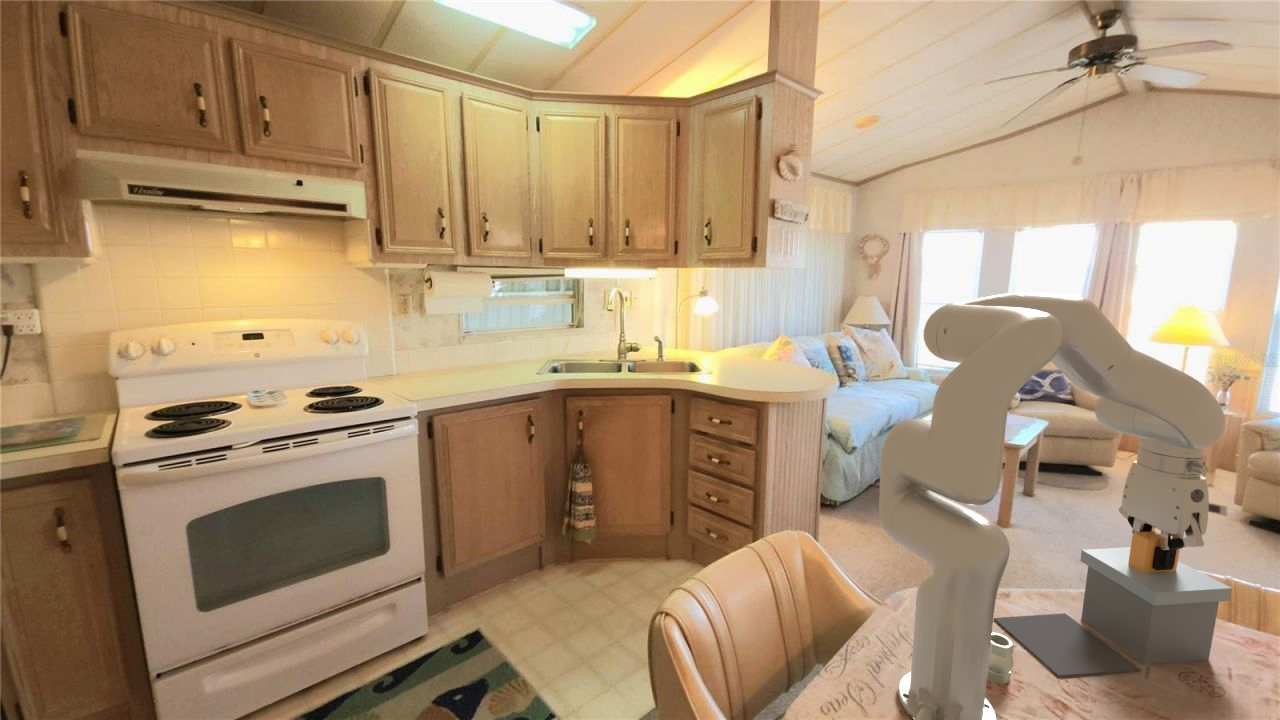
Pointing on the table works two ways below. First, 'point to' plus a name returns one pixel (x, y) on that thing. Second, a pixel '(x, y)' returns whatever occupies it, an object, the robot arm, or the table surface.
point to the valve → (1000, 659)
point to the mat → (1065, 645)
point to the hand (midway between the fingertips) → (1152, 562)
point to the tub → (1148, 623)
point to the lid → (1154, 573)
